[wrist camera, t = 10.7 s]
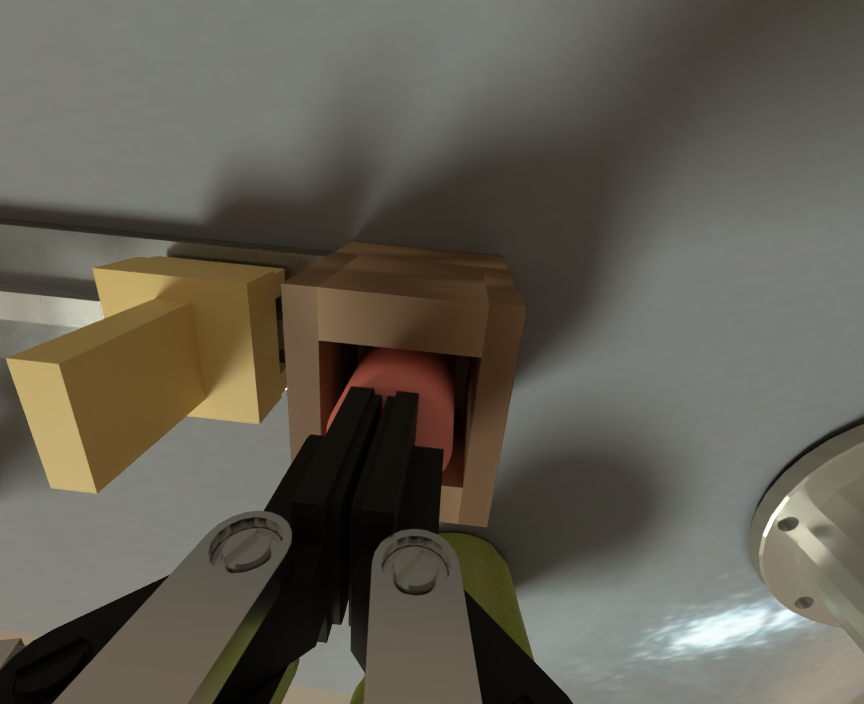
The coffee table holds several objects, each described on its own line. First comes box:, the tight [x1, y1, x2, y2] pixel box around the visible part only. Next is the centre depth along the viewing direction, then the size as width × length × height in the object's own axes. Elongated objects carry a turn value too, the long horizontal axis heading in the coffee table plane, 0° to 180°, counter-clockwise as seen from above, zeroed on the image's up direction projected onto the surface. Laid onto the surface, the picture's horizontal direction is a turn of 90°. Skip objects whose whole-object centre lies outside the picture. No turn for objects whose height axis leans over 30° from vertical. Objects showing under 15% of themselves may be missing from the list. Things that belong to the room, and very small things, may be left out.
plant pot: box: [350, 533, 534, 704], centre depth 19 cm, size 9×9×9 cm
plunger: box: [326, 346, 456, 472], centre depth 13 cm, size 3×3×5 cm
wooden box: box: [281, 241, 527, 527], centre depth 15 cm, size 6×7×7 cm
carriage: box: [6, 256, 287, 494], centre depth 13 cm, size 5×5×8 cm
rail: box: [0, 219, 333, 390], centre depth 16 cm, size 19×6×4 cm, turn 85°
